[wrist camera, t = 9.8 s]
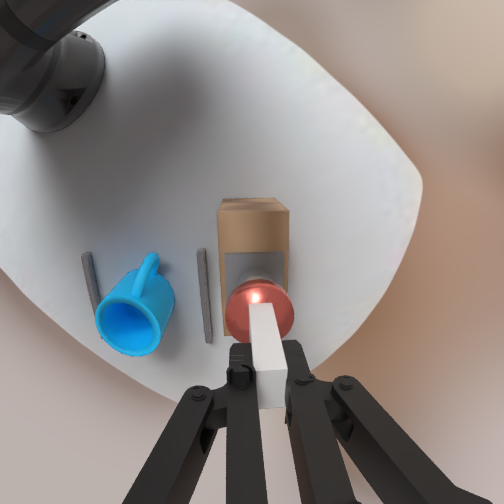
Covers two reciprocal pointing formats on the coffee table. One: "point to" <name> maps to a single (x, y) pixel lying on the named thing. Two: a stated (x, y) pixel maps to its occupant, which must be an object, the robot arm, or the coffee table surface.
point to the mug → (136, 310)
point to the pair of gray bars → (202, 282)
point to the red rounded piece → (256, 291)
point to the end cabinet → (251, 242)
